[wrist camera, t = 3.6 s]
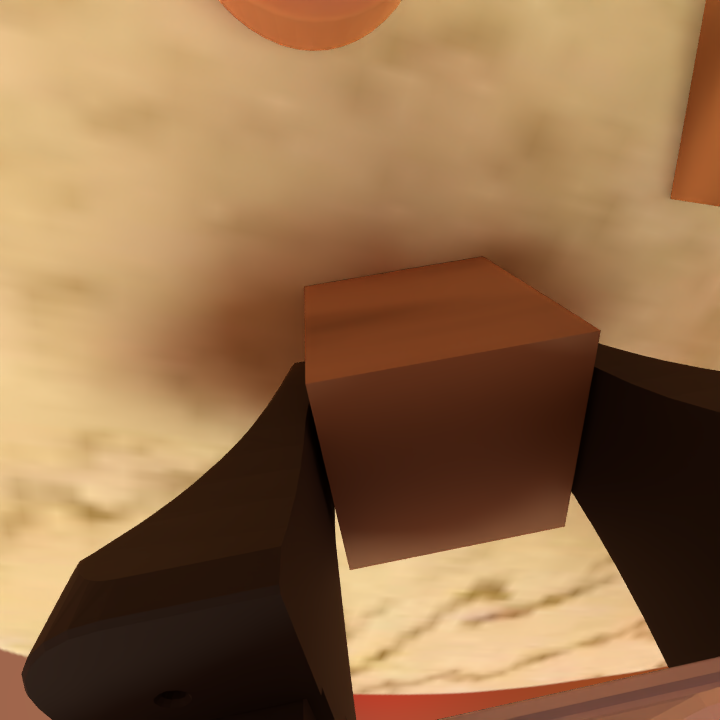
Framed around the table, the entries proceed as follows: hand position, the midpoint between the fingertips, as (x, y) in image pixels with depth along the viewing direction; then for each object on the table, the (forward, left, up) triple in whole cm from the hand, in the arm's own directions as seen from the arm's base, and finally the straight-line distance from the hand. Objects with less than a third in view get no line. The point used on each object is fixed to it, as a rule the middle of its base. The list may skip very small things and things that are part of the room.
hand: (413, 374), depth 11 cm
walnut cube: (0, 0, -1) cm, 1 cm away
